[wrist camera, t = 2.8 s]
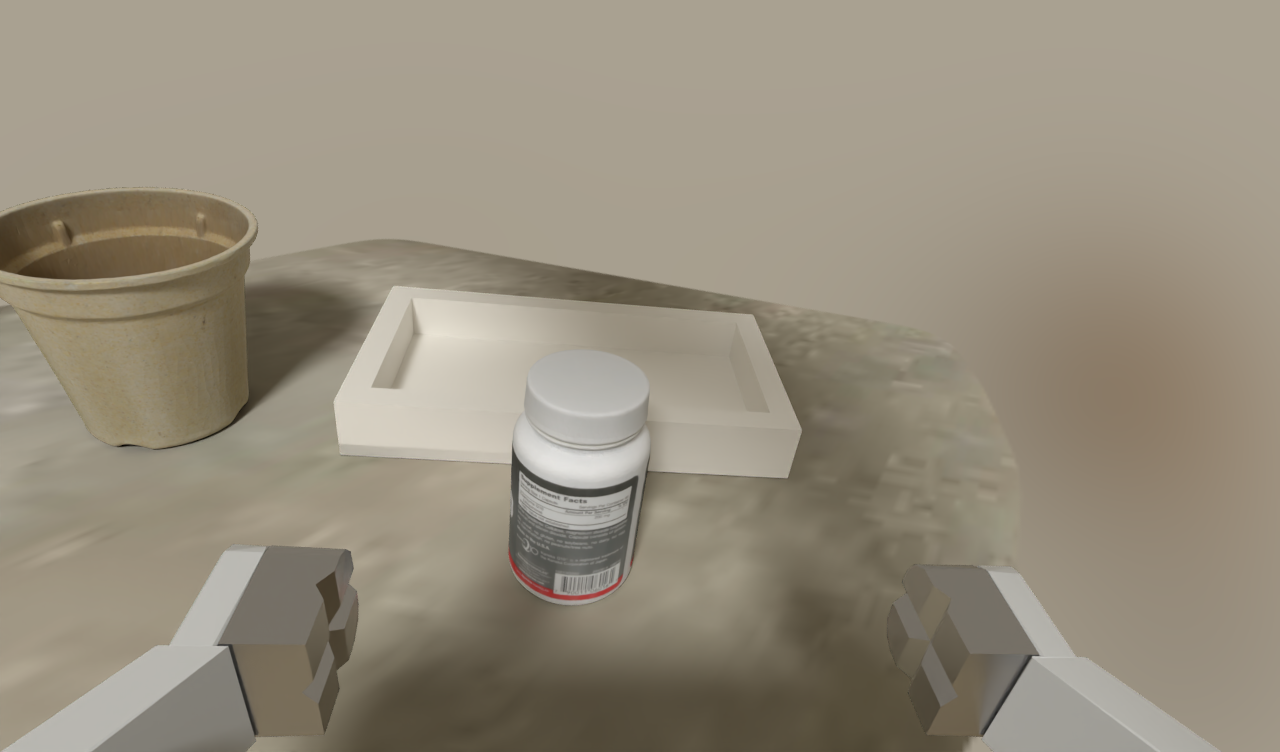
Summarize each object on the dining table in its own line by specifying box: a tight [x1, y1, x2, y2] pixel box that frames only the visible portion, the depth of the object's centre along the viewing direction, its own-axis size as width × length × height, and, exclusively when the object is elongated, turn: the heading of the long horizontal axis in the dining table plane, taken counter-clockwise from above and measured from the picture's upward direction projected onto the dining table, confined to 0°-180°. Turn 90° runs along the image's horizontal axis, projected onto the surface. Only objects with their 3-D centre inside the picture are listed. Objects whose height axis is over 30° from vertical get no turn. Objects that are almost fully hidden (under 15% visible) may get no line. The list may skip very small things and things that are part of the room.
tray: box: [334, 286, 802, 478], centre depth 36 cm, size 20×11×3 cm, turn 94°
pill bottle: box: [509, 349, 651, 605], centre depth 25 cm, size 5×5×8 cm
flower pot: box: [0, 187, 258, 449], centre depth 30 cm, size 9×9×9 cm
